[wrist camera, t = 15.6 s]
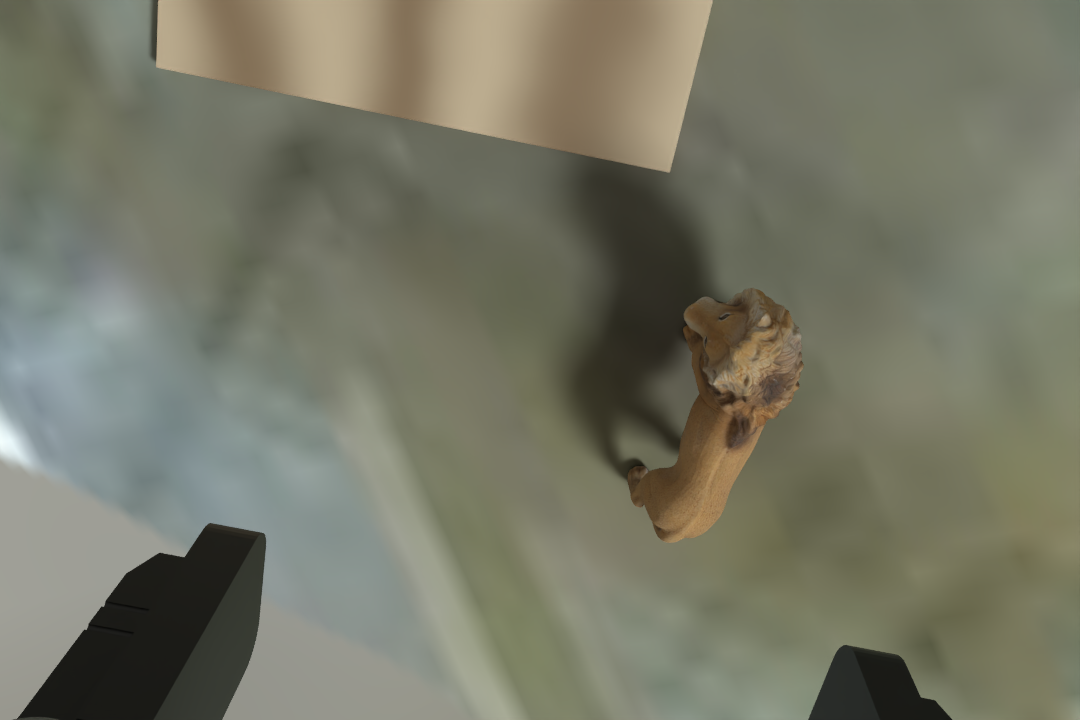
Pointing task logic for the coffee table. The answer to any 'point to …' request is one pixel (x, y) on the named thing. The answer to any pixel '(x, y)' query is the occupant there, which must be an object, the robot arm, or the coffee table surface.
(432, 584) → the coffee table surface
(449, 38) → the wooden board
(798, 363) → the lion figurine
